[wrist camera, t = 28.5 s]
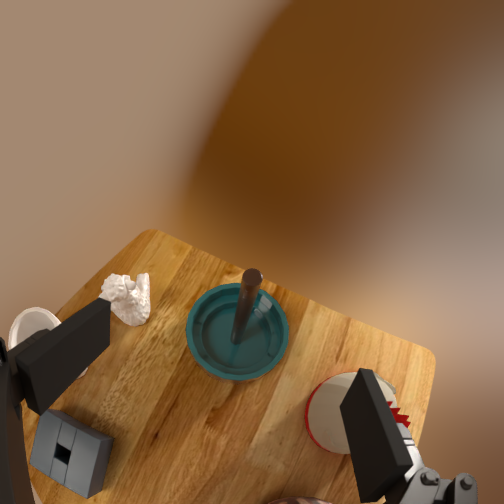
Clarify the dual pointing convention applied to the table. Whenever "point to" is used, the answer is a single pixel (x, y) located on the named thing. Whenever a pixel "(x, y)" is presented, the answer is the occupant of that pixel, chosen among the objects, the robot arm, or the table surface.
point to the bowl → (219, 332)
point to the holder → (71, 452)
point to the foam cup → (32, 326)
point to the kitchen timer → (328, 412)
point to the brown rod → (245, 303)
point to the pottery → (299, 501)
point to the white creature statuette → (128, 297)
